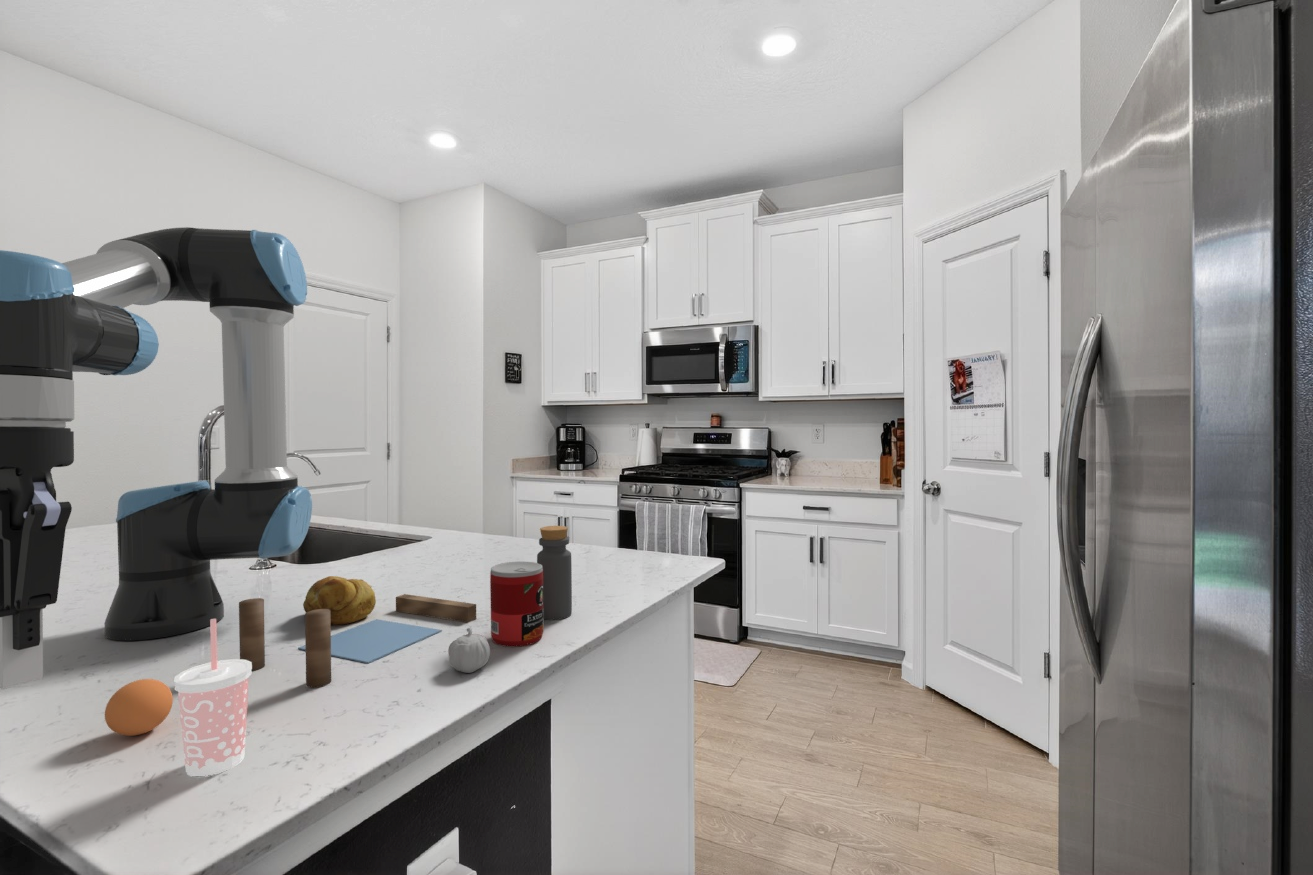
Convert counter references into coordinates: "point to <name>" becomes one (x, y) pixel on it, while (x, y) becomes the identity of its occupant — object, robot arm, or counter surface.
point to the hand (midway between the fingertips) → (19, 681)
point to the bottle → (556, 572)
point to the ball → (138, 707)
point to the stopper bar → (436, 607)
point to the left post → (252, 632)
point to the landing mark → (376, 640)
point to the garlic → (469, 652)
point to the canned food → (516, 603)
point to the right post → (318, 647)
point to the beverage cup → (213, 712)
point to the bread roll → (341, 599)
